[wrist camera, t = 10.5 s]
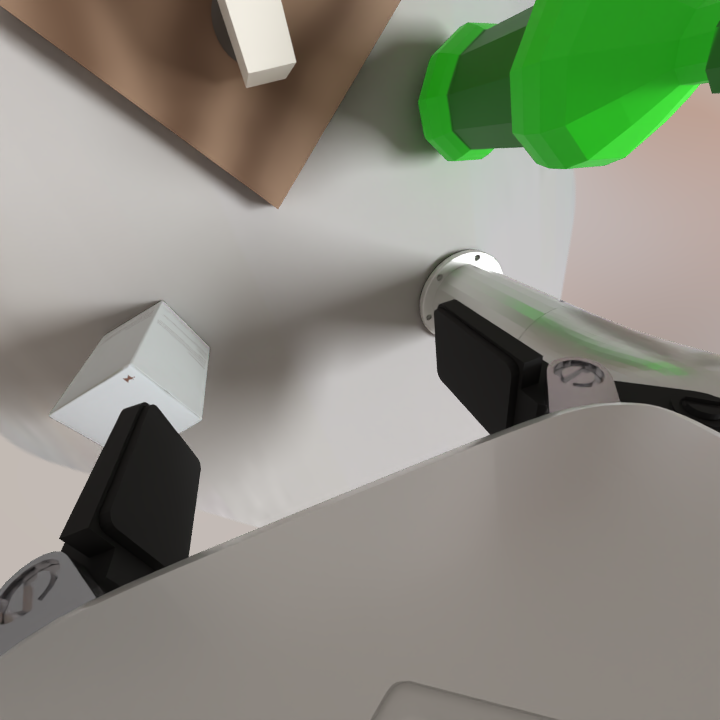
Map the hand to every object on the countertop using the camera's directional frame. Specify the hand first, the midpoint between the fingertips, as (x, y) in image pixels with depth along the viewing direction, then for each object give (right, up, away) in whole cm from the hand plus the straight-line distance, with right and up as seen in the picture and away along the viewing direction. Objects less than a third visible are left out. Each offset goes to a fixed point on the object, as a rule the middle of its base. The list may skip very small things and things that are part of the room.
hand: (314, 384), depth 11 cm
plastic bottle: (+10, +27, +21) cm, 36 cm away
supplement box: (-20, +3, +24) cm, 32 cm away
